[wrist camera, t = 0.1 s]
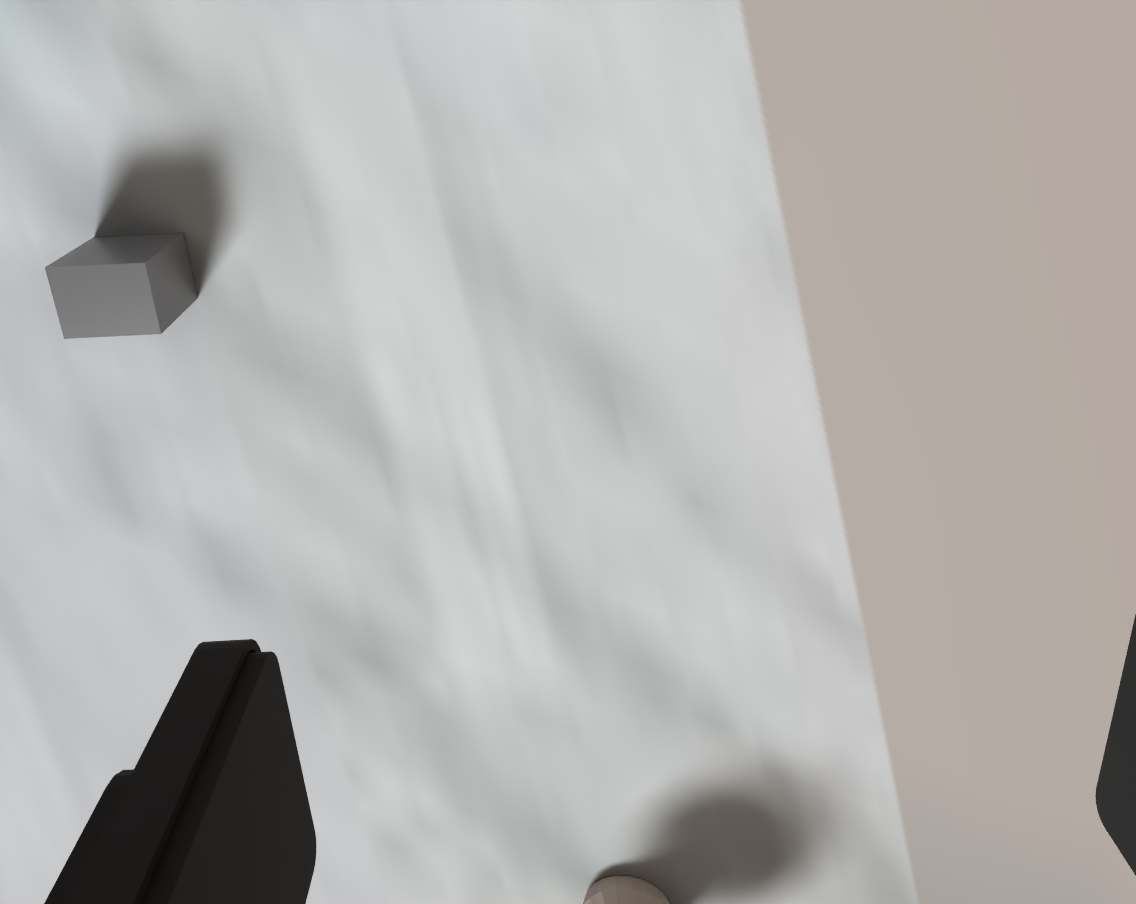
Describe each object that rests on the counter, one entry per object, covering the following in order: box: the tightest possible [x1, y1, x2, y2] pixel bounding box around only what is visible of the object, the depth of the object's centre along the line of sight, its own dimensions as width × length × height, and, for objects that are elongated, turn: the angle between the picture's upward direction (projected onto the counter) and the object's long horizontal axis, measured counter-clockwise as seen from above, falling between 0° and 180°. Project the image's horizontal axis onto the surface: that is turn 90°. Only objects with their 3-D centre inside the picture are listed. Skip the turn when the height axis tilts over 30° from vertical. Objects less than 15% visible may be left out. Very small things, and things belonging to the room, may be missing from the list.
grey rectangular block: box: [45, 233, 198, 339], centre depth 44 cm, size 3×4×5 cm
